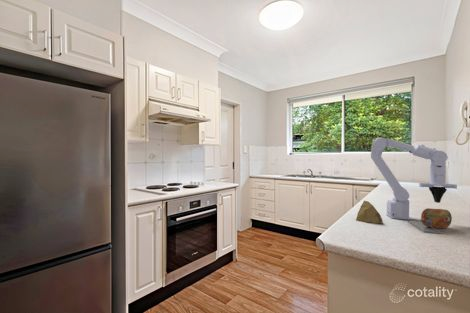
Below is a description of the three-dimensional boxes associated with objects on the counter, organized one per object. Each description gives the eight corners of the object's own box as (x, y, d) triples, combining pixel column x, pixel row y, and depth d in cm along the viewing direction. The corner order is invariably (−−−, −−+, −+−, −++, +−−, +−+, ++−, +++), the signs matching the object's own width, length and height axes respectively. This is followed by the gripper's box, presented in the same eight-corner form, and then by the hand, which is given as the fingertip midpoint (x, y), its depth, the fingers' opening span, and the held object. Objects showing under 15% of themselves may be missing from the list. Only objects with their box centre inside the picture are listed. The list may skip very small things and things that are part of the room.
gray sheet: (423, 232, 97) (423, 230, 97) (408, 222, 111) (408, 220, 111) (440, 233, 95) (440, 231, 95) (422, 223, 110) (422, 221, 110)
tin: (425, 227, 99) (428, 208, 99) (418, 225, 102) (420, 206, 102) (451, 228, 103) (454, 210, 102) (443, 226, 106) (446, 208, 105)
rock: (389, 218, 110) (369, 210, 119) (384, 205, 107) (364, 199, 116) (375, 233, 107) (356, 224, 116) (370, 221, 104) (351, 213, 113)
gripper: (424, 175, 110) (423, 202, 110) (461, 176, 106) (460, 205, 106) (417, 173, 117) (416, 200, 117) (451, 174, 113) (451, 202, 113)
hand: (437, 202), depth 112 cm, fingers closed
